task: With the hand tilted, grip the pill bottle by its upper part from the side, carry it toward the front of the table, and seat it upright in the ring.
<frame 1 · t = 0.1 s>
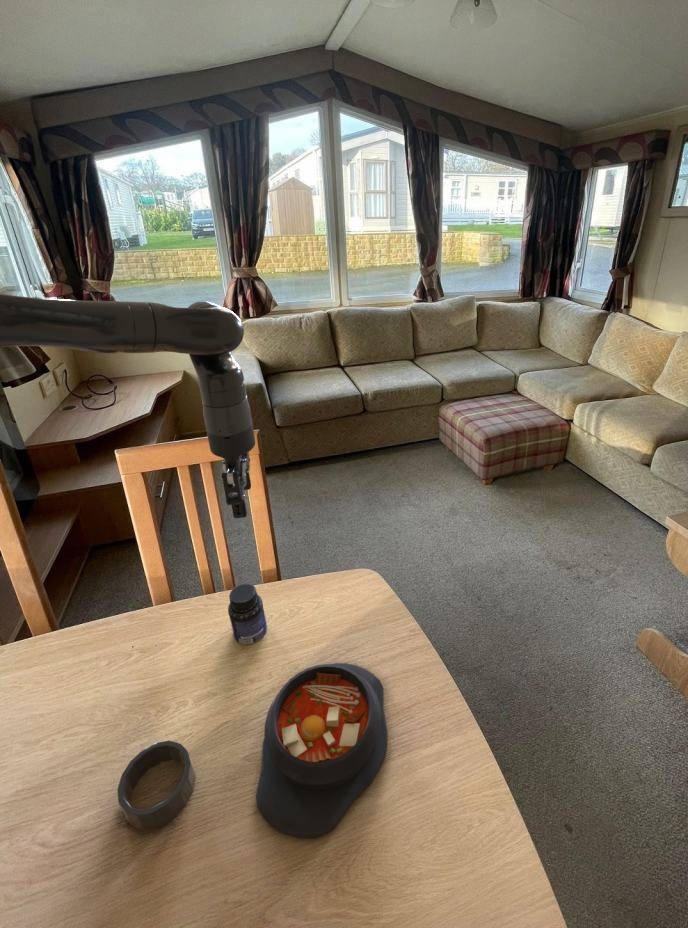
hand: (243, 502, 88), 24 cm above the table, tool pointing down, fingers open, 8 cm apart
casserole: (326, 745, 73), on the table
pill bottle: (251, 636, 91), on the table
ring: (162, 796, 67), on the table
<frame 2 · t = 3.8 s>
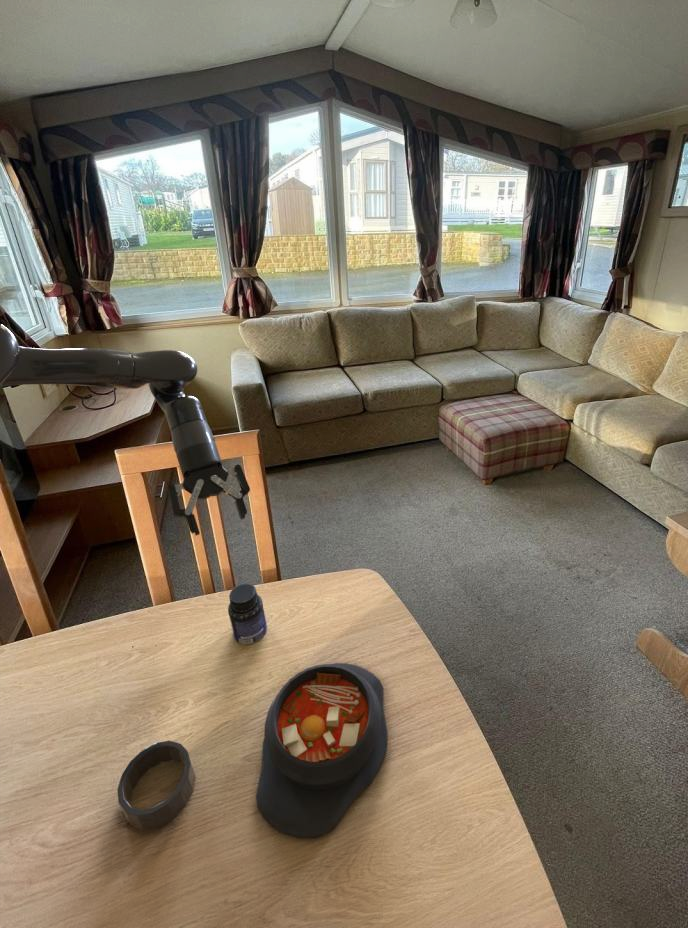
hand: (220, 526, 92), 18 cm above the table, tool tilted 45°, fingers open, 8 cm apart
nothing on the table moved.
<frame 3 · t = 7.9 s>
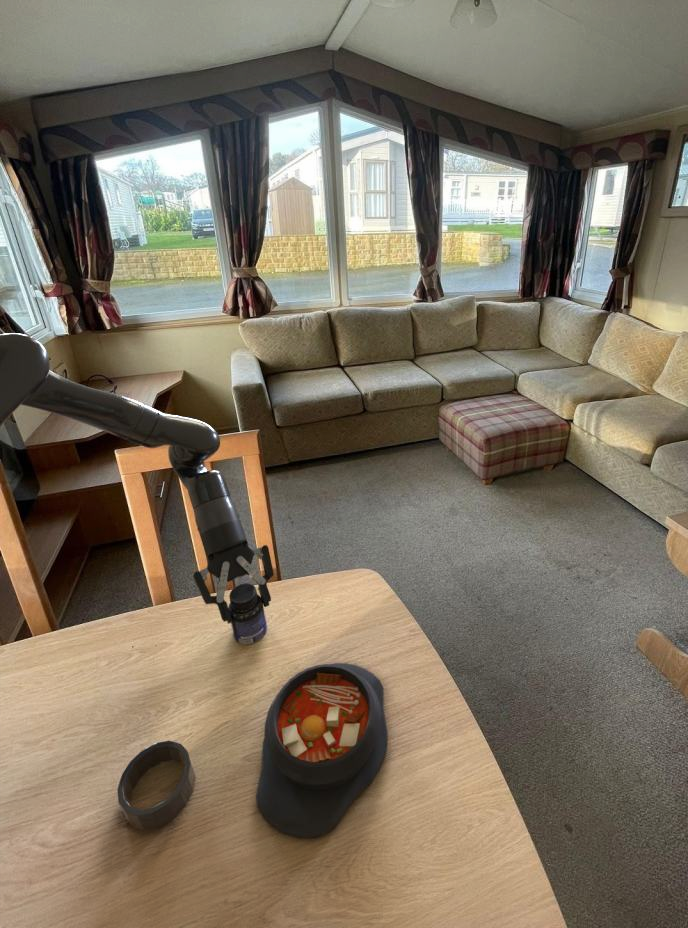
hand: (248, 614, 86), 7 cm above the table, tool tilted 45°, fingers closed on pill bottle, 6 cm apart
pill bottle: (251, 636, 91), on the table, touching gripper
everything else where it was.
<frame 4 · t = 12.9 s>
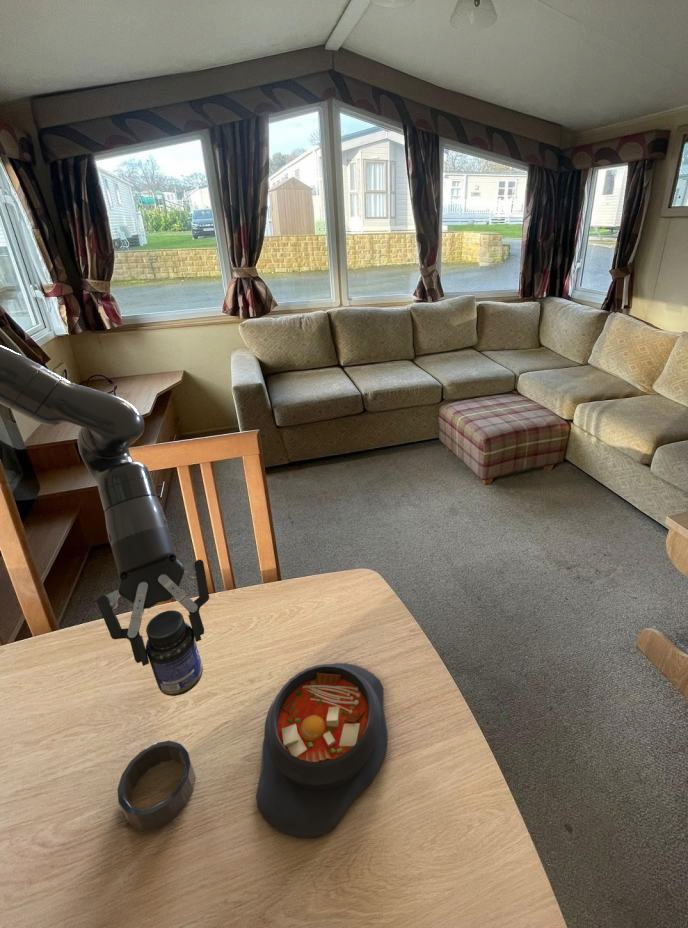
hand: (172, 652, 65), 20 cm above the table, tool tilted 45°, fingers closed on pill bottle, 6 cm apart
pill bottle: (181, 678, 70), point 13 cm above the table, touching gripper
everything else where it was.
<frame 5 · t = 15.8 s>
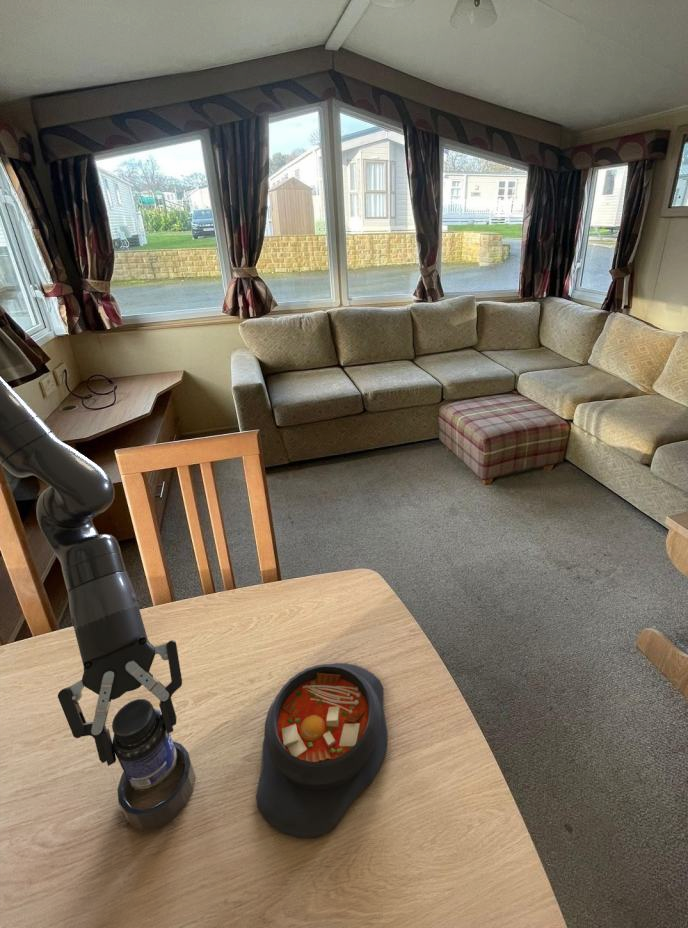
hand: (141, 746, 60), 14 cm above the table, tool tilted 45°, fingers closed on pill bottle, 6 cm apart
pill bottle: (153, 767, 65), point 6 cm above the table, touching gripper
everything else where it was.
when the fingers open (8 cm above the table, at t = 18.0 s): pill bottle stays where it is, resting on ring.
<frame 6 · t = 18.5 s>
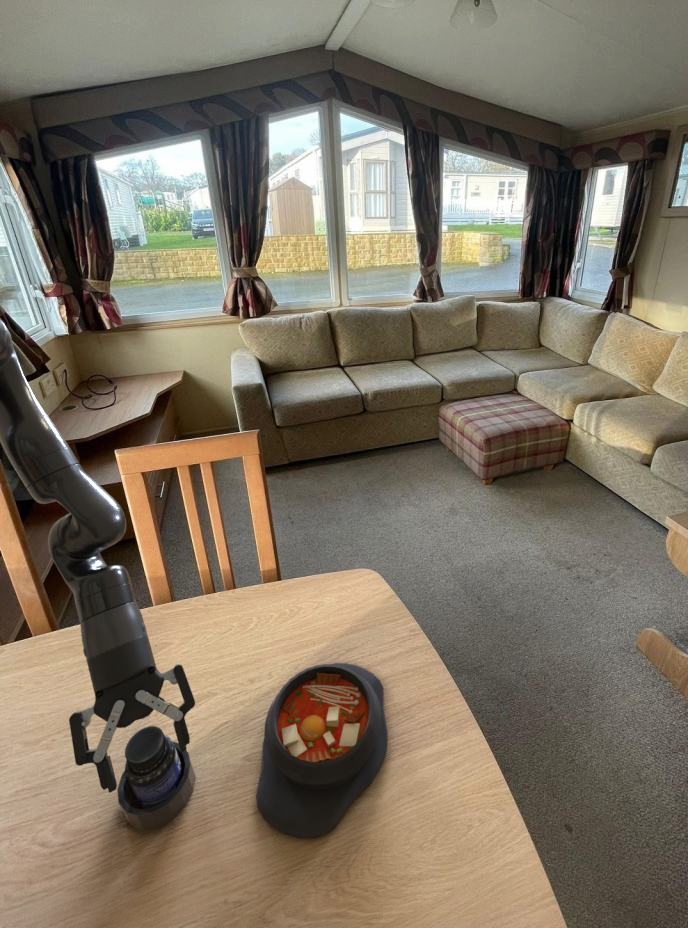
hand: (149, 769, 63), 9 cm above the table, tool tilted 45°, fingers open, 8 cm apart
pill bottle: (163, 792, 68), resting on ring
everything else where it was.
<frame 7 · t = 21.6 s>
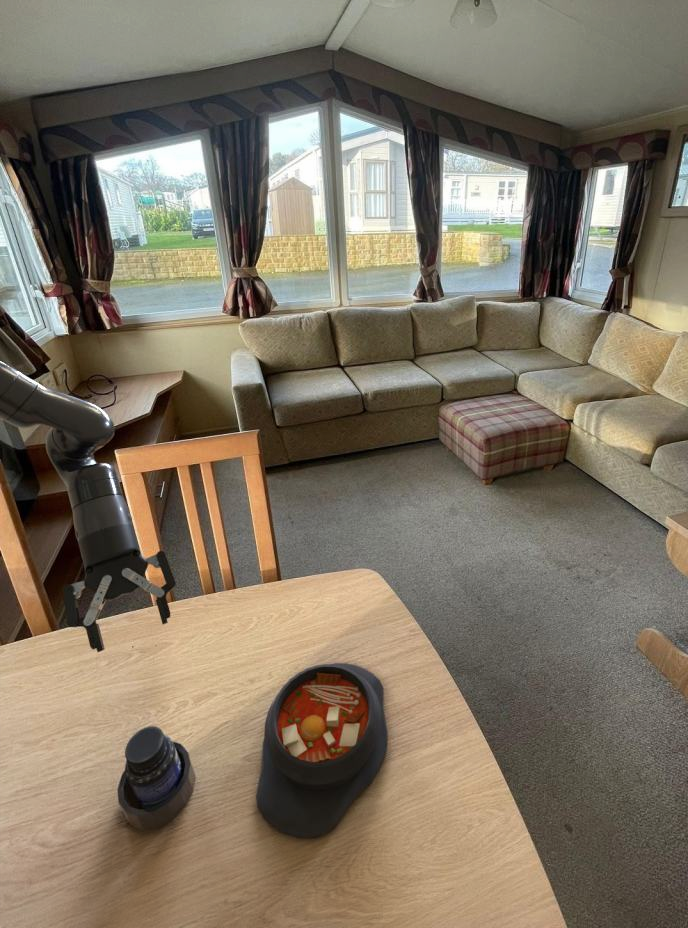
hand: (134, 637, 70), 18 cm above the table, tool tilted 45°, fingers open, 8 cm apart
nothing on the table moved.
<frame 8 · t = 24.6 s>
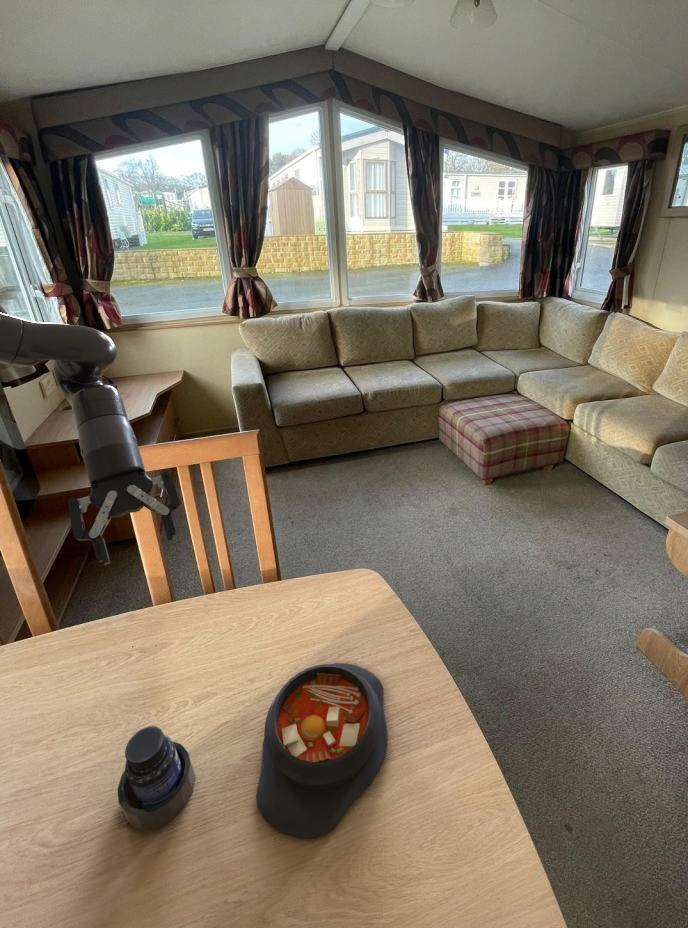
hand: (139, 552, 70), 29 cm above the table, tool tilted 45°, fingers open, 8 cm apart
nothing on the table moved.
at the end: pill bottle 0.3 cm off-centre in the ring, point 0.4 cm above the ring's base; pill bottle tilted 0°; the gripper is holding nothing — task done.
